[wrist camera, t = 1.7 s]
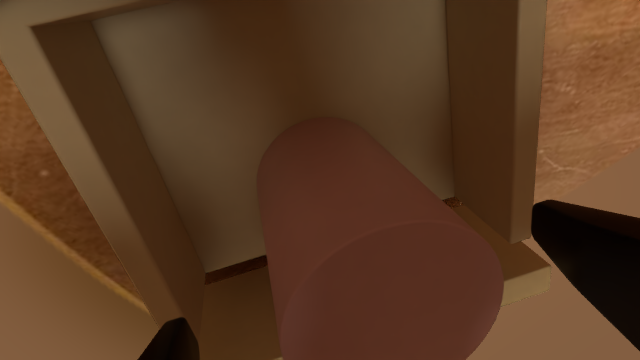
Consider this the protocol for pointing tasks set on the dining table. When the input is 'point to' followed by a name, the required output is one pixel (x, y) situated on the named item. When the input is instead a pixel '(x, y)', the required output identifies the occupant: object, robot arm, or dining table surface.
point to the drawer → (274, 126)
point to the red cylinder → (368, 253)
